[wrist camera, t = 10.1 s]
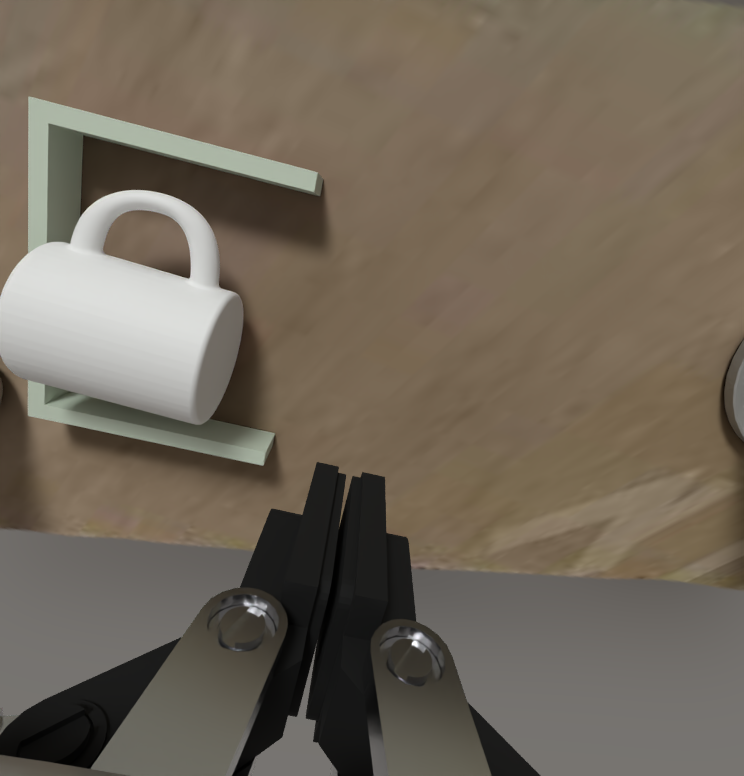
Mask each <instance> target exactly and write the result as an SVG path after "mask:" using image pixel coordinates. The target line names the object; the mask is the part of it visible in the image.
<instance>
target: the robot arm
mask: <svg viewBox="0 0 744 776" xmlns="http://www.w3.org/2000/svg"><path fill="white" fill-rule="evenodd" d="M724 399H725V410H726V413H727V417H728V420H729V423H730V424H731V426H732V428H733V430H734V431H735V433H736V435H737V436H738V437H739V438H740V439H741V440H742V441H743V442H744V340H743V341H742V343H741V345H740V346H739V348H738V350H737V352H736V354H735V355H734V357H733V359H732V362H731V365H730V368H729V371H728V373H727V377H726V383H725V390H724ZM338 469H339V467H337V466H333V465H328V464H324V463H319V462H317V464H316V468H315V471H314V475H313V479H312V482H311V486H310V490H309V493H308V497H307V501H306V504H305V508H304V512H303V515H300V514H295V513H290V512H286V511H281V510H276V509H271V510H270V513H269V515H268V518H267V520H266V523H265V525H264V528H263V530H262V533H261V535H260V538H259V540H258V543H257V546H256V548H255V551H254V553H253V556H252V558H251V561H250V563H249V566H248V568H247V571H246V574H245V576H244V578H243V581H242V584H241V586H240V588H234V589H230V590H226V591H223V592H221V593H219V594H217V595H216V596H214V597H212V598H211V599H210V600H209V601H208V602H207V603H206V604H205V605H204V606H203V607H202V609H201V610H200V612H199V613H198V614H197V616H196V617H195V619H194V620H193V622H192V623H191V625H190V626H189V627H188V629H187V630H186V632H185V633H184V635H183V636H182V637H181V638H179V639H176V640H174V641H172V642H170V643H168V644H165V645H163V646H161V647H159V648H157V649H155V650H152V651H150V652H148V653H146V654H143V655H141V656H139V657H137V658H135V659H133V660H130V661H128V662H126V663H124V664H122V665H119V666H117V667H115V668H113V669H111V670H109V671H107V672H104V673H102V674H100V675H98V676H95V677H93V678H91V679H89V680H86V681H84V682H82V683H80V684H78V685H76V686H73V687H71V688H69V689H67V690H64V691H62V692H60V693H58V694H56V695H53V696H52V697H49V698H47V699H45V700H43V701H41V702H39V703H38V704H36V705H34V706H32V707H31V708H29V709H27V710H26V711H24V712H23V713H22V714H21V715H15V716H3V715H2V714H3V713H2V708H0V776H251V775H252V773H253V770H254V767H255V763H256V759H257V755H259V754H260V753H261V752H262V751H264V750H265V749H267V748H268V747H269V746H271V745H272V744H274V743H275V742H276V741H278V740H279V739H280V738H282V736H283V732H284V728H285V725H286V720H287V717H288V715H290V716H295V717H296V716H297V715H298V711H299V707H300V703H301V700H302V696H303V692H304V688H305V685H306V681H307V677H308V673H309V670H310V666H311V662H312V658H313V654H314V651H315V647H316V652H315V660H314V666H313V672H312V679H311V685H310V693H309V699H308V705H307V712H306V719H311V720H316V724H315V732H314V740H313V742H318V743H319V745H320V747H321V748H322V750H323V751H324V753H325V754H326V755H327V757H328V758H329V759H330V761H331V763H332V766H331V773H330V776H540V775H539V774H538V773H537V772H536V771H535V770H534V769H533V768H532V767H531V766H530V765H529V764H528V763H527V762H526V761H525V760H524V759H523V758H522V757H521V756H520V755H519V754H518V753H517V752H516V751H515V750H514V749H513V748H512V747H511V746H510V745H509V744H508V743H507V742H506V741H505V739H504V738H503V737H502V736H501V735H499V734H498V733H497V732H496V730H495V729H494V728H493V727H492V726H491V725H490V724H489V723H487V721H486V720H485V719H484V718H483V717H482V716H481V715H480V714H479V713H478V712H477V711H476V710H475V709H474V708H473V707H472V706H471V705H470V704H469V703H468V702H467V699H466V697H465V693H464V690H463V688H462V684H461V681H460V678H459V675H458V672H457V669H456V666H455V663H454V660H453V657H452V655H451V653H450V651H449V649H448V647H447V645H446V644H445V643H444V641H443V640H442V639H441V638H440V637H439V635H438V634H436V633H435V632H434V631H432V630H431V629H430V628H428V627H426V626H425V625H422V624H420V623H418V622H416V614H415V605H414V594H413V583H412V573H411V563H410V552H409V543H408V539H407V538H406V537H402V536H398V535H393V534H388V533H386V502H385V477H382V476H378V475H373V474H369V473H364V472H363V473H362V475H361V478H359V477H355V476H353V477H352V480H351V484H350V488H349V492H348V496H347V500H346V504H345V507H344V511H343V515H342V519H341V523H340V516H341V509H342V502H343V494H344V487H345V480H346V474H341V473H338ZM339 524H340V527H339ZM316 643H317V646H316Z"/></svg>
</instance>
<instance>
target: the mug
mask: <svg viewBox="0 0 744 776" xmlns="http://www.w3.org/2000/svg"><path fill="white" fill-rule="evenodd" d="M133 210H146V211H153V212H157V213H161V214H164V215H167V216H169V217H171V218H172V219H174V220H175V221H176V222H177V223H178V224H179V225H180V226H181V228H182V229H183V231H184V233H185V235H186V237H187V240H188V244H189V249H190V256H191V275H190V278H189V279H188V278H185V277H181V276H178V275H174V274H171V273H168V272H164V271H161V270H157V269H154V268H151V267H147V266H144V265H140V264H137V263H134V262H130V261H127V260H123V259H120V258H117V257H113V256H110V255H107V254H105V253H104V251H103V246H104V242H105V239H106V236H107V233H108V231H109V229H110V227H111V225H112V223H113V222H114V221H115V220H116V218H118V217H119V216H120V215H121V214H123V213H125V212H128V211H133ZM219 277H220V257H219V249H218V245H217V241H216V238H215V235H214V233H213V231H212V229H211V227H210V225H209V224H208V222H207V221H206V219H205V218H204V217H203V216H202V215H201V214H200V213H199V212H198V211H197V210H196V209H194V208H193V207H192V206H190V205H189V204H187V203H185V202H184V201H182V200H179V199H177V198H175V197H172V196H170V195H166V194H163V193H158V192H153V191H146V190H127V191H120V192H116V193H112V194H109V195H107V196H104V197H102V198H101V199H99V200H97V201H96V202H94V203H93V204H92V205H91V206H89V207H88V208H87V209H86V210H85V212H84V213H83V214H82V216H81V217H80V219H79V221H78V223H77V225H76V227H75V229H74V232H73V235H72V239H71V243H70V244H69V243H65V242H50V243H46V244H43V245H41V246H39V247H37V248H35V249H34V250H32V251H31V252H29V253H28V254H27V255H26V256H25V257H24V258H23V259H22V260H21V261H20V262H19V263H18V264H17V266H16V267H15V268H14V270H13V271H12V273H11V274H10V276H9V278H8V280H7V282H6V284H5V286H4V288H3V291H2V294H1V296H0V355H1V357H2V360H3V361H4V363H5V365H6V366H7V367H8V368H9V370H11V371H12V372H13V373H14V374H15V375H17V376H19V377H21V378H23V379H26V380H30V381H33V382H37V383H41V384H45V385H48V386H52V387H56V388H60V389H63V390H67V391H71V392H75V393H78V394H82V395H86V396H90V397H93V398H97V399H101V400H105V401H108V402H112V403H116V404H120V405H123V406H127V407H131V408H135V409H139V410H142V411H146V412H150V413H154V414H157V415H161V416H165V417H169V418H172V419H176V420H180V421H184V422H187V423H191V424H195V425H201V424H203V423H205V422H206V421H208V420H209V419H210V417H211V416H212V415H213V413H214V412H215V411H216V409H217V407H218V405H219V404H220V402H221V400H222V398H223V395H224V393H225V391H226V388H227V386H228V383H229V381H230V378H231V375H232V372H233V369H234V366H235V362H236V359H237V355H238V351H239V346H240V341H241V336H242V329H243V304H242V300H241V298H240V296H239V295H238V294H237V293H235V292H232V291H228V290H225V289H222V288H220V286H219Z"/></svg>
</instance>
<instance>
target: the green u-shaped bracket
mask: <svg viewBox="0 0 744 776" xmlns="http://www.w3.org/2000/svg"><path fill="white" fill-rule="evenodd" d="M83 135H84V136H88V137H92V138H96V139H100V140H104V141H108V142H111V143H115V144H119V145H123V146H127V147H131V148H135V149H138V150H142V151H146V152H150V153H154V154H158V155H162V156H165V157H169V158H173V159H177V160H181V161H185V162H189V163H192V164H196V165H200V166H204V167H208V168H212V169H216V170H219V171H223V172H227V173H231V174H235V175H239V176H243V177H246V178H250V179H254V180H258V181H262V182H266V183H270V184H273V185H277V186H281V187H285V188H289V189H293V190H297V191H300V192H304V193H308V194H312V195H316V196H320V195H321V189H322V184H323V178H322V177H321V176H320V174H319V173H318V172H314V171H310V170H307V169H303V168H299V167H295V166H291V165H288V164H284V163H280V162H276V161H272V160H269V159H265V158H261V157H257V156H253V155H250V154H246V153H242V152H238V151H234V150H231V149H227V148H223V147H219V146H215V145H212V144H208V143H204V142H200V141H196V140H193V139H189V138H185V137H181V136H177V135H174V134H170V133H166V132H162V131H158V130H155V129H151V128H147V127H143V126H139V125H136V124H132V123H128V122H124V121H120V120H117V119H113V118H109V117H105V116H101V115H98V114H94V113H90V112H86V111H82V110H79V109H75V108H71V107H67V106H63V105H60V104H56V103H52V102H48V101H44V100H41V99H37V98H33V97H29V133H28V253H29V252H31V251H32V250H34V249H35V248H37V247H39V246H41V245H43V244H46V243H50V242H65V243H69V244H70V243H71V239H72V235H73V232H74V229H75V227H76V225H77V223H78V221H79V219H80V211H81V184H82V156H83ZM28 416H32V417H36V418H41V419H46V420H50V421H55V422H60V423H65V424H69V425H74V426H79V427H83V428H88V429H93V430H97V431H102V432H107V433H112V434H116V435H121V436H126V437H130V438H135V439H140V440H145V441H149V442H154V443H159V444H163V445H168V446H173V447H177V448H182V449H187V450H192V451H196V452H201V453H206V454H210V455H215V456H220V457H224V458H229V459H234V460H239V461H243V462H248V463H253V464H257V465H262V466H263V465H264V463H265V461H266V459H267V457H268V455H269V453H270V450H271V448H272V446H273V442H274V437H275V433H272V432H267V431H262V430H258V429H253V428H249V427H244V426H239V425H235V424H230V423H226V422H221V421H217V420H212V419H209V420H208V421H206V422H205V423H203V424H201V425H195V424H191V423H187V422H184V421H180V420H176V419H172V418H169V417H165V416H161V415H157V414H154V413H150V412H146V411H142V410H139V409H135V408H131V407H127V406H123V405H120V404H116V403H112V402H108V401H105V400H101V399H97V398H93V397H90V396H86V395H82V394H78V393H75V392H71V391H67V390H63V389H60V388H56V387H52V386H48V385H45V384H41V383H37V382H33V381H30V380H28Z"/></svg>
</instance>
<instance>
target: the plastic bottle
mask: <svg viewBox="0 0 744 776" xmlns="http://www.w3.org/2000/svg"><path fill="white" fill-rule="evenodd" d="M2 396H3V384H2V380H1V377H0V404H1V400H2Z"/></svg>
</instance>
